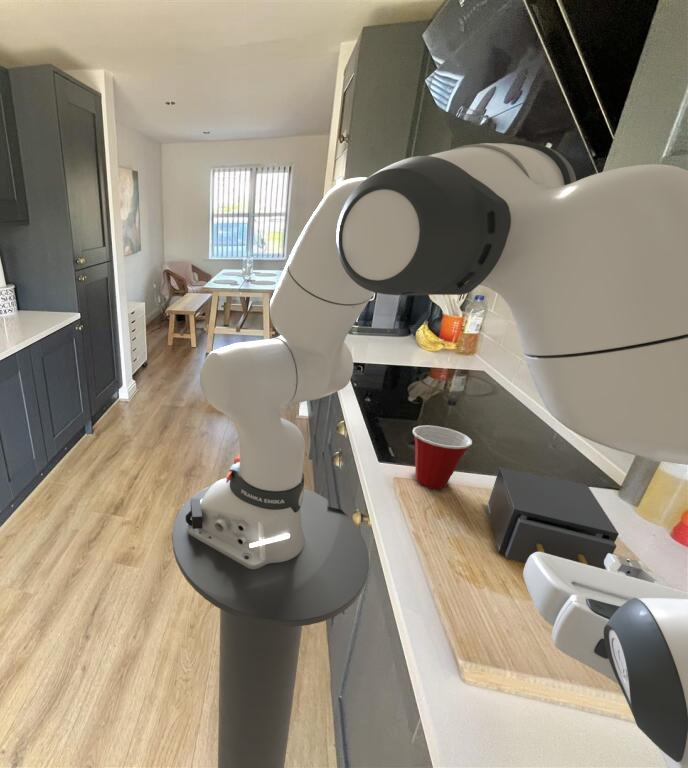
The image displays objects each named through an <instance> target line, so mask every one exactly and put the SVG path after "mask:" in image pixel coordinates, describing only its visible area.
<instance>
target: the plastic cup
mask: <svg viewBox="0 0 688 768" xmlns="http://www.w3.org/2000/svg"><path fill="white" fill-rule="evenodd" d="M412 434H413V437H414V446H415V447H414V449H415V451H414V455H415V456H414V465H415V472H414V473H415V479H416V481H417V482H418V483H419V484H420V485H422V486H424V487H426V488H430V489H433V490H434V489H437V490H439V489H443V488H445V487H446V485H447V484H448V482H449V481H450V480H451V479H450V478H451V476H453V474H454V472H455V470H456V468H457V466H458V465H459V463H460V461H461V459H462V458H463V456H464V454H465V452H466V451H467V450H468V449H469V447H471V446H472V445H473V440H472V439H471V438H470V437H469V436H468V435H466V434H464V433H462V432H460V431H457V430H454V429H452V428H447V427H442V426H438V425H429V424H427V425H426V424H425V425H418V426H416V427H413V429H412Z"/></svg>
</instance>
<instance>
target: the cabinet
mask: <svg viewBox="0 0 688 768" xmlns="http://www.w3.org/2000/svg"><path fill="white" fill-rule="evenodd" d="M486 509H487V514H488V517H489V521H490V526H491V528H492V529H491V530H492V532H493V536H494V540H495V544H496V548H497V552H498V553H499V554H501V555H505V553H506V550H507V547H508V542H509V539H510V537H511V534H512V531H513V528H514V526H515V523H516V520H517V517H518V515H519V514H521V515H525V516H529V517H533V518H537V519H541V520H545V521H550V522H554V523H558V524H562V525H566V526H570V527H574V528H579V529H583V530H587V531H591V532H595V533H599V534H603V536H602V538H604V539H608V540H612V541H614V543H615V544H616V541H617V539H618V536H619V531H617V529H616V527H615V526H614V523H613V522H612V521H611V519H610V518H609V516H608V515H607V513H606V512H605V510H604V509H603V507H602V506H601V504H600V502H599V501H598V500H597V498H596V496H595V495H594V493H593V492H592V490H591V489H590V487H589V486H588V484H583V483H579V482H574V481H569V480H564V479H559V478H555V477H549V476H544V475H540V474H536V473H535V474H534V473H530V472H525V471H519V470H515V469H510V468H504V467H499V469H498V471H497V475H496V478H495V480H494V483H493V486H492V490H491V493H490V496H489V500H488V502H487V505H486Z"/></svg>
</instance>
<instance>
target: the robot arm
mask: <svg viewBox="0 0 688 768" xmlns="http://www.w3.org/2000/svg"><path fill="white" fill-rule="evenodd" d="M479 286H483V287H484V288H485V287H486V288H487V289H491V290H492V291H494V292H495V293H497V294H498V295H499V297H501V298H502V299H503V300H504V302H505V303H506V305H507V307H508V308H509V310H510V312H511V315H512V317H513V320H514V324H515V325H516V330H517V333H518V338H519V341H520V344H521V347H522V352H523V355H524V358H525V361H526V365H527V367H528V370H529V373H530V376H531V379H532V381H533V383H534V385H535V388H536V391H537V392H538V395H539V397H540V398H541V401H542V403H543V404H544V406H545V408H546V410H547V411H548V413H549V414H550V415H551V416H552V417H553V418H554V419H555V420H556V421H557V422H559V423H560V424H561V425H563V426H564V427H565V428H567V429H568V430H570V431H571V432H573V433H575V434H577V435H579V436H580V437H582V438H584V439H587V440H589V441H591V442H593V443H596V444H598V445H601V446H604V447H607V448H610V449H612V450H614V451H615V450H616V451H617V452H618V451H619V452H621V453H622V452H623V453H626V454H630V455H633V456H637V457H641V458H645V459H650V460H655V461H659V462H665V463H670V464H678V465H685V466H688V170H687V169H684V168H682V167H679V166H675V165H670V164H661V163H658V164H657V163H653V164H636V165H629V166H622V167H618V168H617V167H616V168H612V169H608V170H605V171H601V172H598V173H594V174H591V175H589V176H586V177H583V178H581V179H579V180H577V177H576V173H575V171H574V168H573V166H572V165H571V164H570V162H569V161H568V160H567V159H566V158H565V157H564V156H563V155H562V154H561V153H559V151H556V150H554V149H553V148H551V147H548V146H546V145H544V144H540V143H535V142H530V141H513V142H512V141H511V142H506V143H505V142H504V143H500V142H499V143H498V142H496V143H494V142H493V143H492V142H490V143H489V142H485V143H474V144H473V143H472V144H466V145H462V146H457V147H455V148H452V149H450V150H444V151H440V152H436V153H432V154H429V155H416V156H411V157H407V158H404V159H402V160H399V161H396V162H394V163H391V164H389V165H387V166H385V167H383V168H382V169H379V170H377V171H376V172H374V173H372V174H371V175H370V176H367V177H365V176H363V177H361V176H360V177H352V178H348V179H345V180H343V181H341V182H339V183H337V184H336V185H334V186H333V187H332V188H331V189H330V190H328V192H327V193H326V194H325V195H324V197H323V198H322V200H321V201H320V203H318V206H317V207H316V208H315V210H314V211H313V213H312V215H311V216H310V218H309V220H308V221H307V223H306V224H305V226H304V228H303V229H302V231H301V233H300V235H299V237H298V238H297V240H296V242H295V244H294V246H293V248H292V250H291V253H290V255H289V256H288V260H287V261H286V263H285V267H284V269H283V271H282V273H281V276H280V278H279V280H278V283H277V285H276V287H275V290H274V292H273V295H272V297H271V299H270V302H269V317H270V320H271V324H272V325H273V327H274V329H275V331H276V332H277V333H278V334H279V335H278V336H276V337H272V338H266V339H258V340H257V339H256V340H250V341H243V342H241V341H240V342H235V343H232V344H229V345H226V346H223V347H220V348H218V349H215V350H213V351H210V352H209V353H208V354H207V356H206V357H205V359H204V361H203V362H202V364H201V368H200V372H199V384H200V388H201V391H202V394H203V396H204V398H205V399H206V401H207V402H208V403H209V405H210V406H211V407H212V408H213V409H215V410H216V411H218V412H220V413H222V414H223V415H225V416H226V417H227V418H228V419H229V420H230V421H231V422H232V424H233V426H234V427H235V429H236V432H237V435H238V443H239V444H238V447H239V448H238V449H239V453H238V454H237V455H236V457H235V458H234V459H233V464H232V465H231V466H230V467H229V471H228V473H227V475H226V477H224V478H221V479H218V480H217V481H216V482H214V483H213V484H212V485H210V486H211V487H210V486H209V487H210V488H209V489H208V491H207V492H206V494H205V495H204V497H203V498H202V499H201V500H200V498H199V499H191V511H190V512H189V513H188V514H187V515H186V522H187V531H188V533H189V534H190V535H191V536H193V537H195V538H196V539H198V540H200V541H202V542H203V543H205V544H207V545H209V546H210V547H212V548H214V549H216V550H217V551H219V552H221V553H223V554H224V555H226V556H228V557H230V558H231V559H233V560H235V561H237V562H238V563H240V564H242V565H244V566H245V567H247V568H249V569H258V568H260V567H262V566H264V565H266V564H270V563H279V562H284V561H288V560H290V559H292V558H294V557H296V556H297V555H298V554H299V553H300V552H301V551H302V549H303V547H304V543H305V537H304V533H303V529H302V524H301V512H300V507H301V505H302V503H303V496H304V488H305V474H304V472H303V471H304V463H305V454H306V439H305V436H304V434H303V432H302V431H301V429H300V428H299V427H298V426H297V425H296V424H294V423H293V422H291V421H289V420H287V419H285V418H283V417H281V411H282V409H283V407H284V406H287V405H293V404H299V403H304V402H305V403H306V402H309V401H314V400H315V401H316V400H320V399H322V398H325V397H328V396H329V395H332V394H335V393H337V392H339V391H341V390H344V389H345V388H346V387H347V386H348V384H350V381H351V379H352V376H353V373H354V359H353V355H352V353H351V350H350V347H349V346H348V345H347V343H346V342H345V341H346V338H347V336H348V334H349V333H350V331H351V330H352V328H353V326H354V324H355V323H356V322H357V320H358V319H359V317H360V315H361V314H362V312H363V311H364V310H365V308H366V306H367V305H368V303H369V302H370V300H371V299H372V297H374V295H375V293H376V294H380V295H387V296H388V295H389V296H430V295H431V296H433V295H434V296H435V295H437V296H440V295H441V296H460V295H467V294H469V293H471V292H473V290H475V289H476V288H477V287H479ZM604 565H605V567H606V568H605V570H604V569H601V568H597V567H594V566H590V565H586V564H583V563H579V562H575V561H572V560H568V559H564V558H561V557H557V556H553V555H550V554H546V553H543V552H535V553H533V554H531V555H530V556H529V558H528V560H527V562H526V564H525V563H524V567H523V573H522V577H523V580H524V583H525V584H524V585H525V586H526V589H527V592H528V594H529V597H530V599H531V601H532V603H533V605H534V607H535V610H537V612H538V614H539V615H540V616H541V617H542V618H543V619H544V621H546V622H547V623H548V624H549V625H550V626H552V631H551V635H550V636H551V642H552V643H553V645H554V647H555V648H556V649H557V650H559V651H560V652H562V653H563V654H565V655H567V656H568V657H570V658H572V659H574V660H576V661H578V662H580V663H581V664H583V665H585V666H587V667H588V668H591V669H592V670H594V671H596V672H597V673H598V674H600V675H603V677H606V678H607V679H609V680H610V681H612V682H614V683H615V684H616V685H618V686H619V687H620V690H621V691H622V694H623V696H624V698H625V701H626V703H627V705H628V707H629V709H630V712H631V714H632V716H633V719H634V721H635V724H636V726H637V727H638V729H639V730H640V731H641V732H642V733H643V734H644V735H645V736H646V737H647V738H648V739H649V740H650V741H651V742H652V743H653V744H655V746H656V747H657V748H658V750H659V752H660V755H661V757H662V758H663V761H664V763H665V765H666V766H667V768H688V591H685V590H684V591H683V590H681V589H676V588H674V586H673V585H671V584H670V583H669V582H668V581H666V580H664V579H663V578H661V577H659V576H658V575H657V574H655V573H654V572H652V571H650V570H649V569H648V567H647V566H646V564H645V563H644V562H643V561H640V560H637V559H632V558H628V557H624V556H621V555H617V554H614V553H613V554H610V553H608V554H607V556H606V558H605V560H604Z"/></svg>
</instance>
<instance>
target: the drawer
mask: <svg viewBox="0 0 688 768" xmlns="http://www.w3.org/2000/svg"><path fill="white" fill-rule="evenodd" d="M602 536H603V534H599V533H595V532H591V531H587V530H583V529H579V528H574V527H570V526H566V525H562V524H558V523H554V522H550V521H545V520H541V519H537V518H533V517H529V516H525V515H521V514H519V515H518V517H517V520H516V523H515V526H514V528H513V531H512V534H511V537H510V539H509V542H508V547H507V550H506V553H505V554H504V556H505V558H506V559H508V560H511V561H515V562H518V563H521V564H524V565H525V564H526V562H527V560H528V558H529V556H530V555H531V554H533V553H535V552H543V553H546V554H550V555H553V556H557V557H561V558H564V559H568V560H572V561H575V562H579V563H583V564H586V565H590V566H594V567H597V568H601V569H604V570H606V567H605V565H604V560H605V558H606V556H607V554H608V553H610V554H614V552H615V550H616V549H617V544H616V542H615V543H614V541H612V540H608V539H604V538H602Z"/></svg>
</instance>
